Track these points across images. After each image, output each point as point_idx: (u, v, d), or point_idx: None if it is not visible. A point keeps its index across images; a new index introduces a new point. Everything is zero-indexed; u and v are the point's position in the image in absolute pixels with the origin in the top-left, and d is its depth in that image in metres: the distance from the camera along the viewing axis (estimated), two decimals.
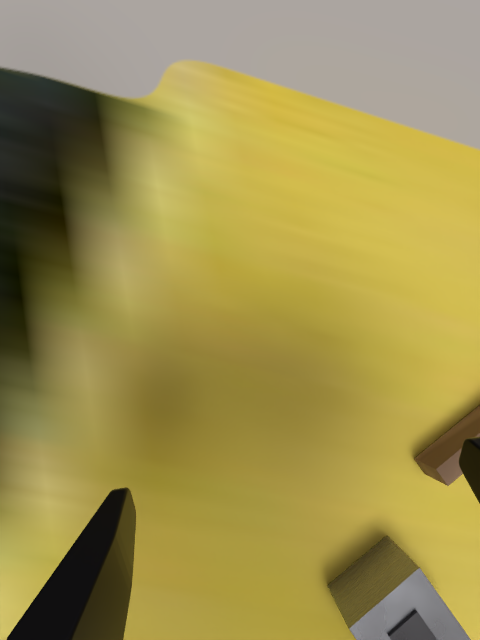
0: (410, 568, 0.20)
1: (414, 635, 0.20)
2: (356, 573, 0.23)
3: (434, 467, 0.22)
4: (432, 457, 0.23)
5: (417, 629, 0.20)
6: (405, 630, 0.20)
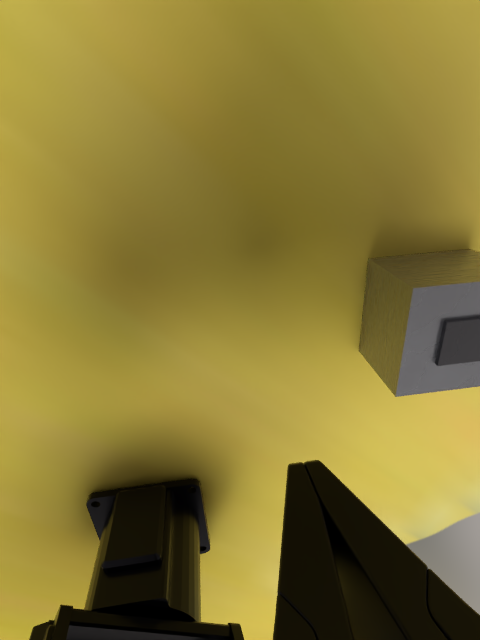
0: None
1: (470, 338, 0.15)
2: (418, 259, 0.16)
3: None
4: None
5: (478, 334, 0.15)
6: (467, 327, 0.14)
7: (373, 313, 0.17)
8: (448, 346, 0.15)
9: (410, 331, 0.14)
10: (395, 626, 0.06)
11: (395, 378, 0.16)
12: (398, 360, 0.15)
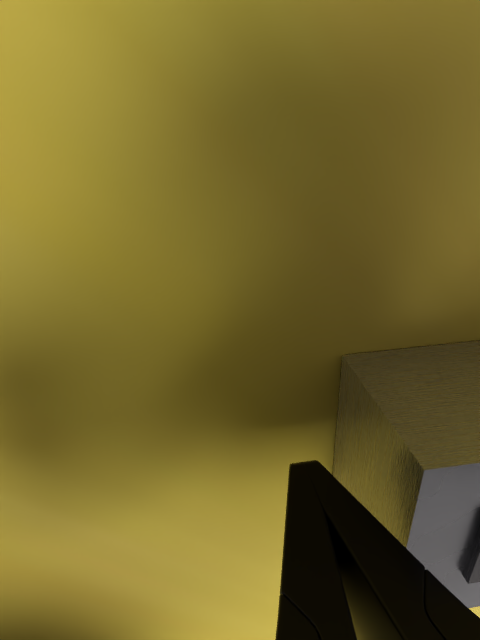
0: None
1: None
2: (430, 366, 0.09)
3: None
4: None
5: None
6: None
7: (353, 450, 0.10)
8: None
9: (418, 535, 0.07)
10: (392, 626, 0.06)
11: None
12: None
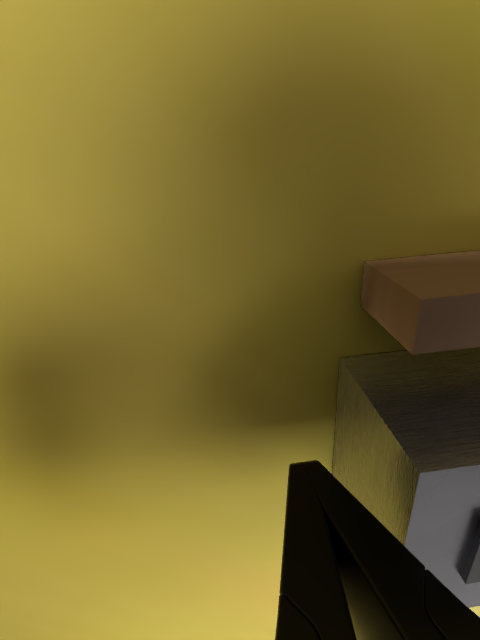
0: None
1: None
2: (427, 369, 0.09)
3: (417, 294, 0.07)
4: (418, 275, 0.08)
5: None
6: None
7: (351, 452, 0.10)
8: None
9: (415, 537, 0.07)
10: (393, 627, 0.06)
11: None
12: None
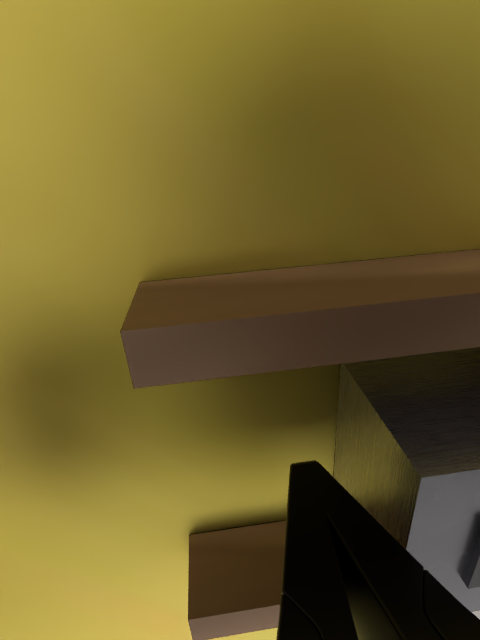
0: None
1: None
2: (428, 371, 0.09)
3: (126, 324, 0.07)
4: (162, 301, 0.07)
5: None
6: None
7: (352, 455, 0.10)
8: None
9: (417, 541, 0.07)
10: (391, 627, 0.06)
11: None
12: None
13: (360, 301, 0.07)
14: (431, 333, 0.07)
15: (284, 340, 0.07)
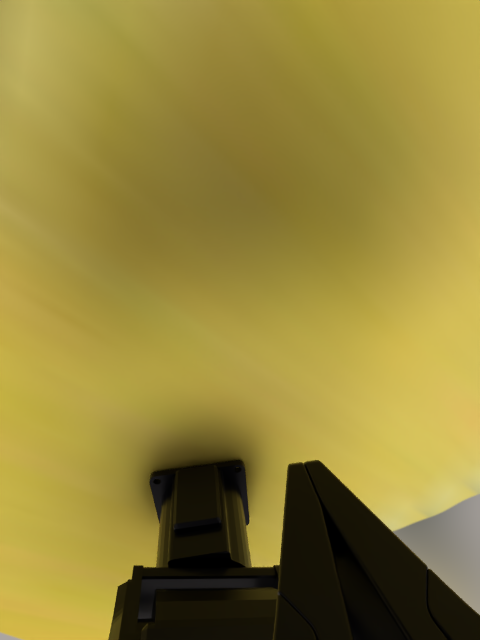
0: None
1: None
2: None
3: None
4: None
5: None
6: None
7: None
8: None
9: None
10: (395, 626, 0.06)
11: None
12: None
13: None
14: None
15: None
